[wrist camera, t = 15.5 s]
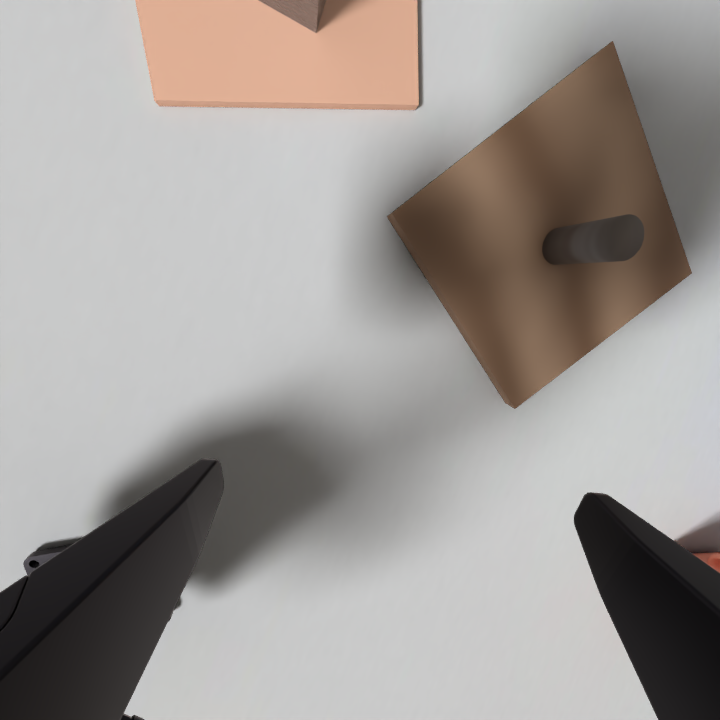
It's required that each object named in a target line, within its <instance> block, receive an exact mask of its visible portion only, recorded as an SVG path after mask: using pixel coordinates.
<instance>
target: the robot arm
mask: <svg viewBox="0 0 720 720" xmlns="http://www.w3.org/2000/svg"><path fill="white" fill-rule="evenodd" d="M223 489H224V480H223V474H222V468H221V463H220V461H219V460H217V459H207V458H203V459H200V460H199V461H197V462H196V463H194V464H193V465H191V466H190V467H188V468H187V469H185V470H184V471H182V472H181V473H179V474H178V475H176V476H175V477H173V478H172V479H170V480H169V481H167V482H166V483H164V484H163V485H161V486H160V487H158V488H157V489H155V490H154V491H152V492H151V493H149V494H148V495H146V496H145V497H143V498H142V499H140V500H139V501H137V502H135V503H134V504H132V505H131V506H129V507H128V508H126V509H125V510H123V511H122V512H120V513H119V514H117V515H116V516H114V517H113V518H111V519H110V520H108V521H107V522H105V523H104V524H102V525H101V526H99V527H98V528H96V529H95V530H93V531H92V532H90V533H89V534H87V535H86V536H84V537H83V538H81V539H80V540H78V541H77V542H75V543H74V544H72V545H69V546H63V547H57V548H52V549H46V550H40V551H35V552H33V553H32V554H30V555H29V556H28V557H27V559H26V560H25V561H24V567H25V570H26V572H27V575H28V576H24V577H23V578H21V579H20V580H18V581H17V582H15V583H14V584H12V585H11V586H9V587H8V588H6V589H5V590H3V591H2V592H0V720H144V719H143V718H140V717H138V716H136V715H133V716H132V717H130V716H128V715H126V714H124V711H125V709H126V707H127V705H128V703H129V701H130V699H131V697H132V695H133V693H134V691H135V689H136V686H137V684H138V682H139V680H140V678H141V676H142V674H143V672H144V670H145V668H146V666H147V664H148V662H149V660H150V657H151V655H152V653H153V651H154V649H155V647H156V645H157V643H158V641H159V639H160V637H161V635H162V633H163V631H164V629H165V626H166V624H167V622H168V621H169V620H170V619H171V616H172V614H173V610H174V608H175V606H176V604H177V602H178V600H179V597H180V595H181V593H182V591H183V589H184V587H185V585H186V583H187V581H188V579H189V577H190V575H191V573H192V571H193V569H194V566H195V564H196V562H197V560H198V558H199V555H200V553H201V550H202V548H203V545H204V543H205V540H206V537H207V534H208V532H209V529H210V526H211V523H212V521H213V518H214V515H215V513H216V510H217V507H218V504H219V502H220V499H221V496H222V493H223ZM574 524H575V528H576V530H577V533H578V536H579V539H580V541H581V544H582V547H583V550H584V552H585V555H586V558H587V561H588V563H589V566H590V569H591V572H592V574H593V577H594V580H595V583H596V585H597V588H598V590H599V593H600V595H601V597H602V600H603V602H604V604H605V606H606V609H607V611H608V613H609V615H610V617H611V619H612V621H613V624H614V626H615V628H616V630H617V632H618V634H619V636H620V639H621V641H622V643H623V645H624V647H625V649H626V652H627V654H628V656H629V658H630V660H631V662H632V664H633V667H634V669H635V671H636V673H637V675H638V677H639V679H640V682H641V684H642V686H643V688H644V690H645V692H646V695H647V697H648V699H649V701H650V703H651V705H652V707H653V710H654V712H655V714H656V716H657V718H658V720H720V573H719V572H718V571H716V570H715V569H713V568H712V567H711V566H709V565H708V564H706V563H705V562H703V561H702V560H700V559H699V558H698V557H696V556H695V555H693V554H692V553H690V552H689V551H688V550H686V549H685V548H683V547H682V546H680V545H679V544H678V543H676V542H675V541H673V540H672V539H670V538H669V537H667V536H666V535H665V534H663V533H662V532H660V531H659V530H657V529H656V528H655V527H653V526H652V525H650V524H649V523H647V522H646V521H645V520H643V519H642V518H640V517H639V516H637V515H636V514H634V513H633V512H632V511H630V510H629V509H627V508H626V507H624V506H623V505H622V504H620V503H619V502H617V501H616V500H614V499H613V498H612V497H610V496H608V495H606V494H603V493H591V492H590V493H587V494H585V495H584V497H583V499H582V501H581V503H580V505H579V507H578V509H577V510H576V512H575V515H574Z"/></svg>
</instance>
